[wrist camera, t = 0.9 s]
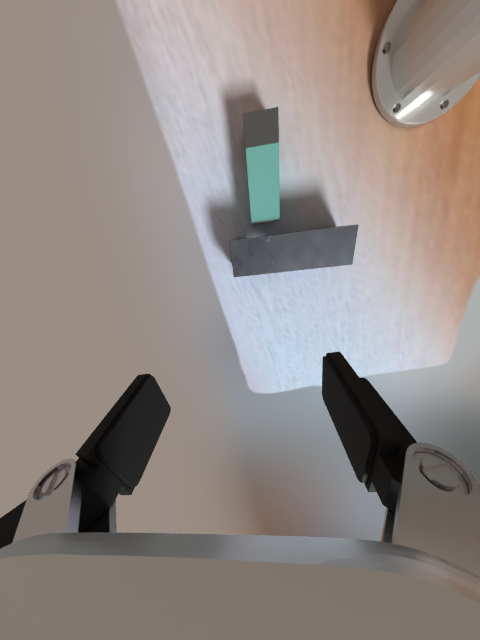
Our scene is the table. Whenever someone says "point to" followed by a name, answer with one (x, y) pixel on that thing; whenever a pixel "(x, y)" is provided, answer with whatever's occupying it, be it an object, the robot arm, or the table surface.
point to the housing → (294, 251)
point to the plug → (262, 164)
